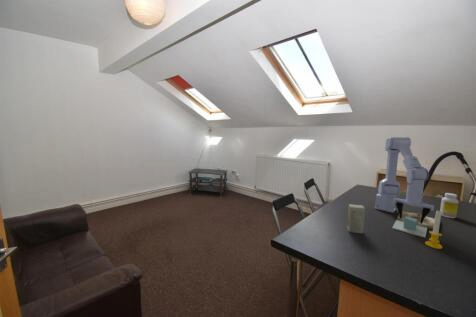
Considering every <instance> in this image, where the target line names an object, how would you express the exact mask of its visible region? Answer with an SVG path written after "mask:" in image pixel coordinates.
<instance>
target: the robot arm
mask: <svg viewBox="0 0 476 317" xmlns="http://www.w3.org/2000/svg"><path fill="white" fill-rule="evenodd" d="M411 145H412V139H411V138H410V137H409V136H406V137H402V136H401V137H399V136H389V137H387V139H386V141H385V147H384V148H385V149H384V150H385V152H387V158H386V168H385V178H383V179H382V180H380V181H378V182H379V184H378V186H377V191H378V193H376V195H375V202H374V204H375V205H374V209H375V210H379V211H384V212H388V213H392V214H394V213H395V211H396V210H397V212H398V216H399V217H400V218H402V211H404V210H403V209H404V205H405V206H407V205H408V206H410V207H415V208H419V209H420V208H421V209H422V210H421V211H422V212H421V215H422V217H421V221H420V223H421V224H422V222H423V220H424V218H425V217H426V216H427V215H429V213H430V211H433V212H434V211H435V210H434V209H435V205H433V204H428V203H425V202H422V200H423V192H424V186H425V182H426V181H427V180H428V179H429V174H430V173H429V170H428V169H427V168H426V167H424V166H422V164H421V163H420V161H419V159H418V157H416V156H414V155H413V153H412V149H411ZM399 154H401V155H402V157H403V158H404V159H403V160H402V162H403V165H404V168H405V169H406V173H405V174H406V183H407V185H406V186H407V187H406V194H405V195H406V196H405V199H404V198H397V197H398V196H400V194H401V183H400V182H399V181H398V180H397V171H398V170H397V169H398V163H399V162H398V161H399V160H398V159H399ZM395 206H396V208H397V209H396V208H395ZM427 217H428V216H427Z"/></svg>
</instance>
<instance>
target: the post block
mask: <svg viewBox="0 0 476 317" xmlns="http://www.w3.org/2000/svg"><path fill="white" fill-rule="evenodd" d="M405 217H411V218H415V219H417V225H418V226H422V227H425V228H427V229H431V230H433V227H434V221H435V217H434V218H433V217H429V216H426V217H425V218H424V220H423V222H422V224H421V223H420V221H421V217H422V213H421V212H418V213H416V212H408V211H404V210H402V218H400V217H399V215H398V216H397V218H396V220H398V221H402V222H404V219H405Z"/></svg>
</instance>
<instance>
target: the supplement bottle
mask: <svg viewBox="0 0 476 317" xmlns="http://www.w3.org/2000/svg"><path fill="white" fill-rule="evenodd" d="M457 197H458V194H455V193H452V192H451V193H450V192H445V193H444V197H441V202H440V209H439V211H441V217H445V218H448V219H455V218H457V214H458V209H459V208H458V207H459V200H458V199H457Z"/></svg>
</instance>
